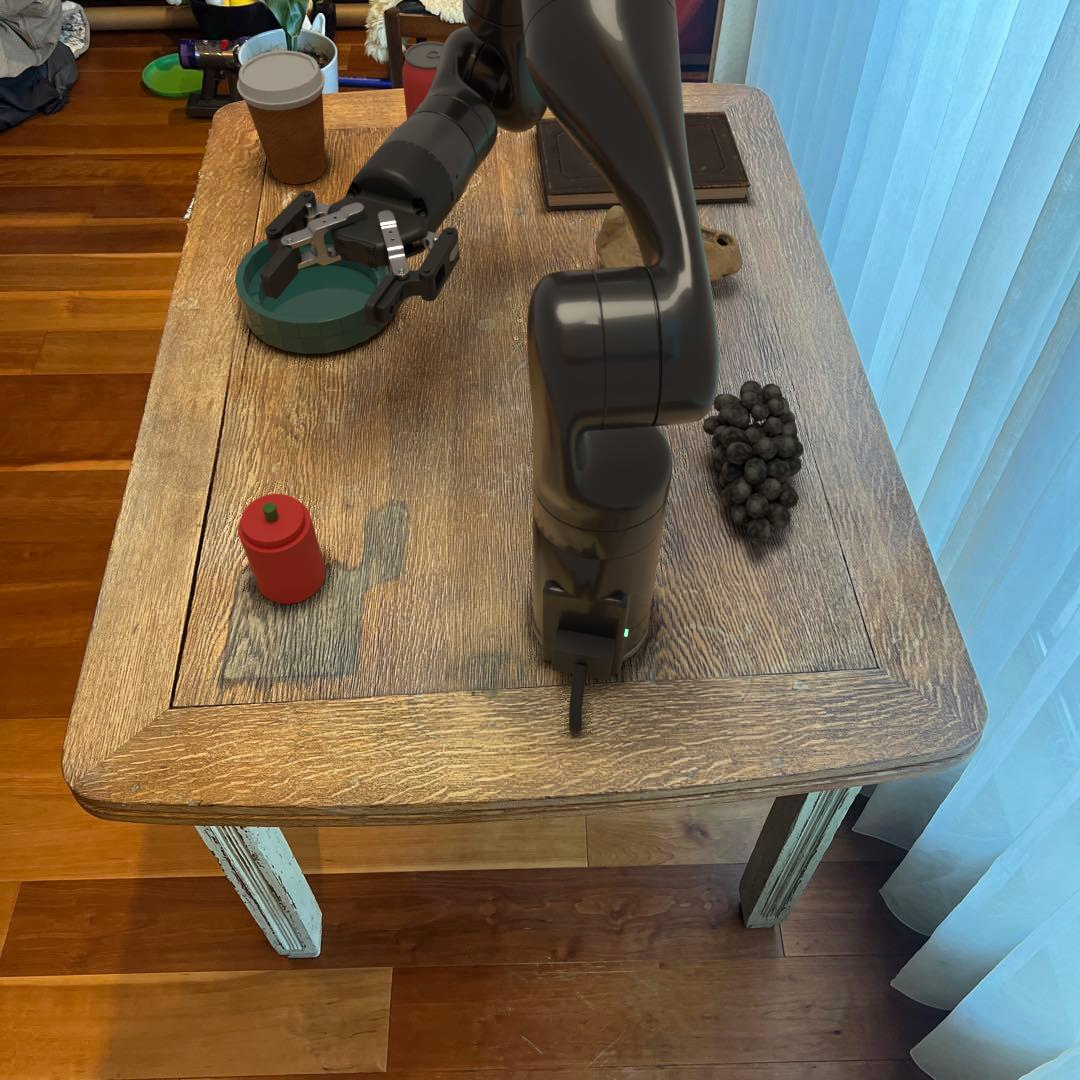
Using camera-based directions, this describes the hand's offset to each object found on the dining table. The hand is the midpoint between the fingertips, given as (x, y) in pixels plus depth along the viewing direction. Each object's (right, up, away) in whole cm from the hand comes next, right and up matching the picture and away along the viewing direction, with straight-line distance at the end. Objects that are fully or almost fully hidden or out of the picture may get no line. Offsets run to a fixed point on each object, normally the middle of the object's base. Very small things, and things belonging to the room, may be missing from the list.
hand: (318, 303), depth 75 cm
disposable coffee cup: (-12, +26, +46) cm, 54 cm away
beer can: (+4, +29, +48) cm, 56 cm away
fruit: (+35, -13, +15) cm, 40 cm away
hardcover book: (+28, +27, +46) cm, 60 cm away
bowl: (-6, +7, +30) cm, 32 cm away
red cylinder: (-4, -20, +10) cm, 23 cm away
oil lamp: (+30, +10, +33) cm, 46 cm away
